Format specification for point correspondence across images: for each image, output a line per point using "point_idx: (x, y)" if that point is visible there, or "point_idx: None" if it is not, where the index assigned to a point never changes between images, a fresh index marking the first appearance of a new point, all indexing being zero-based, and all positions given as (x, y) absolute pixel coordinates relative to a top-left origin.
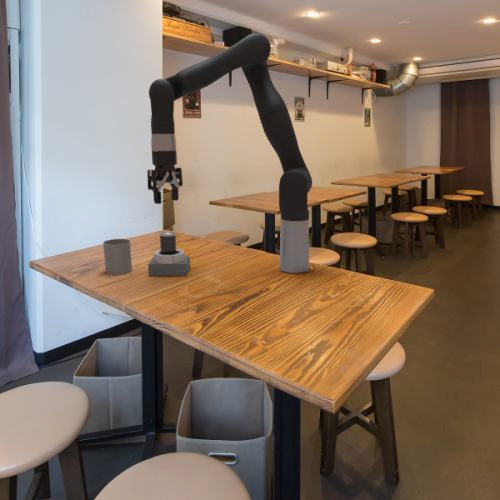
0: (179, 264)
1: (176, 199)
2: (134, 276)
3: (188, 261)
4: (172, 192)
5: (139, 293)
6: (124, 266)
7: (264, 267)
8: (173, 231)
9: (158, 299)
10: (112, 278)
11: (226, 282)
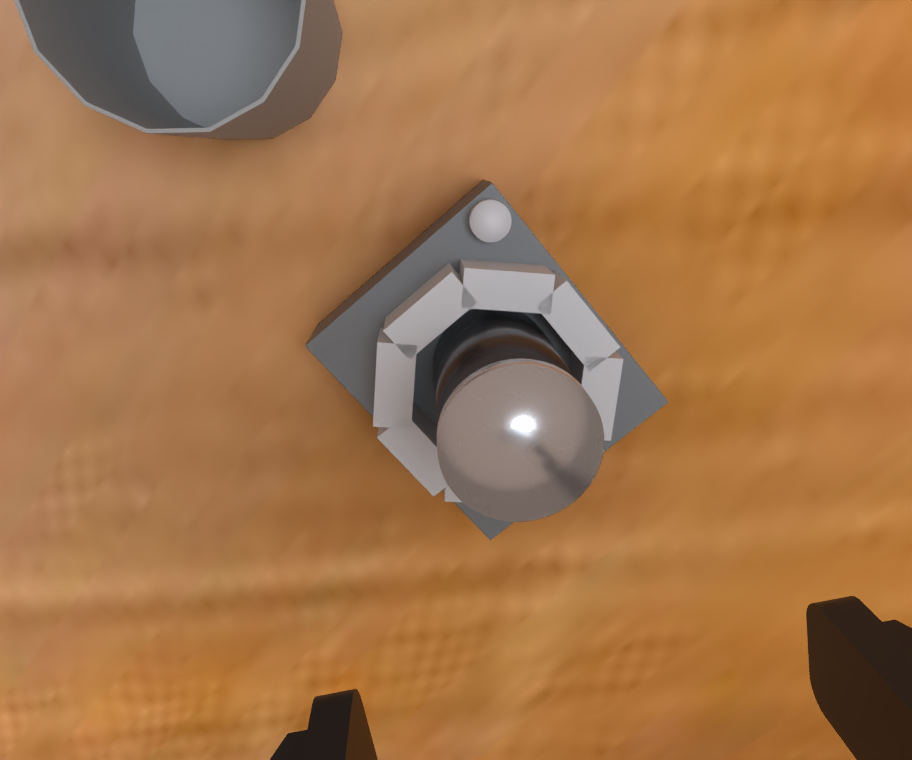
0: (459, 505)
1: (822, 696)
2: (246, 249)
3: None
4: (897, 720)
5: (88, 536)
6: (218, 138)
7: None
8: (599, 447)
9: (114, 670)
10: (107, 164)
11: (533, 729)
